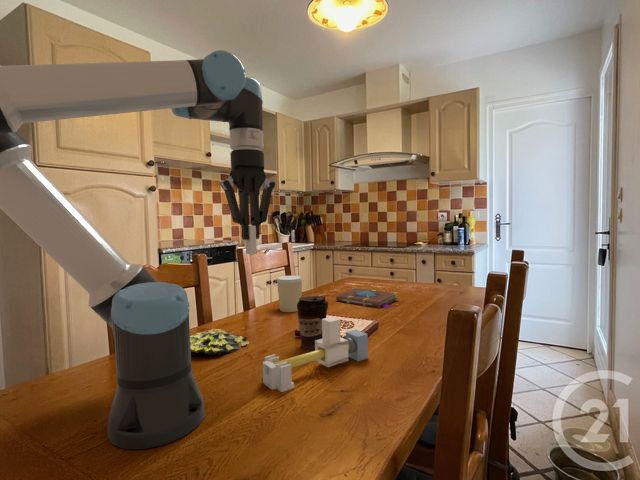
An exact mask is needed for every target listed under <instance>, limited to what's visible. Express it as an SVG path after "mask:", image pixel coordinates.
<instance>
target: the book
mask: <svg viewBox="0 0 640 480" xmlns="http://www.w3.org/2000/svg"><path fill="white" fill-rule="evenodd" d="M399 294H400V293H399V292H396V291H392V292H389V291H384V290H383V291H382V290H378V288H374V287H372V289H367V288H360V287H357V286H356V287H352V289H349V290H347V291H344V292H342V293H340V294H337V295H336V296H335V300H336V302H340V303H345V304H347V305H349V304H353V305H358V306H363V307H371V308H376V309H382V308H385V309H389V308H390V309H391V308H393V306H392V305H390V304H391V303H393V302H396V301H398V300H399V298H398V297H396V296H398V295H399Z"/></svg>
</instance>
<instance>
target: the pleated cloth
mask: <svg viewBox="0 0 640 480" xmlns="http://www.w3.org/2000/svg"><path fill="white" fill-rule="evenodd" d="M247 338H248V337H247V336H245V337H243V336H241V335H237V334H233V333H230V332H227V331H225V330H224V329H217V328H211V329H207V330H204V331H200V332H196V333H195V334H191V333H190V347H191V354H192V353H193V354H199V353H203V354H205V355H208V356H213V355H218V356H221V355H225V354H226V355H227V354H230V353H231V354H232V353H233V352H236V351H239V350H240V349H241V348H244V347H246V346H247V345H249V344H250V343H251V342H250V341H248V339H247ZM240 347H241V348H240Z"/></svg>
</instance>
